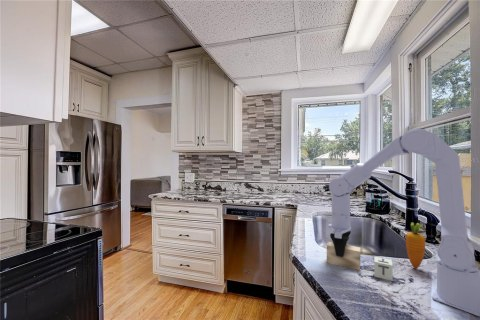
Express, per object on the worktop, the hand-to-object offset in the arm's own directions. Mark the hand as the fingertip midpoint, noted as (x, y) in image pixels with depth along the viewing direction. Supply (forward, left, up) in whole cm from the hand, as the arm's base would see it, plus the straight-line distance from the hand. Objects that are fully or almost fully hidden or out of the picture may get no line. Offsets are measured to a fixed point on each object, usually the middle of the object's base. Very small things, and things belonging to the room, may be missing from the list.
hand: (340, 253), depth 75 cm
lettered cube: (-12, -2, -3) cm, 13 cm away
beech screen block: (-1, 0, -3) cm, 3 cm away
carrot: (-17, -15, -3) cm, 23 cm away
